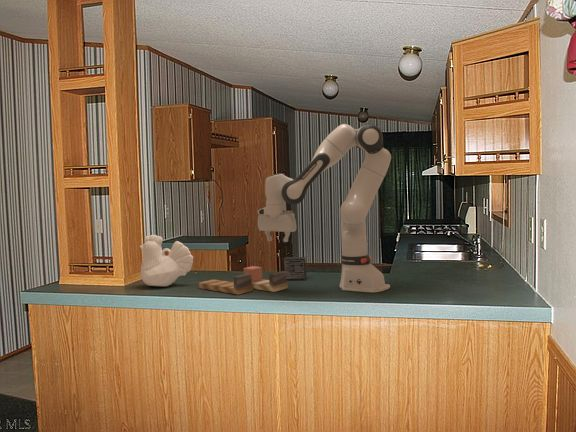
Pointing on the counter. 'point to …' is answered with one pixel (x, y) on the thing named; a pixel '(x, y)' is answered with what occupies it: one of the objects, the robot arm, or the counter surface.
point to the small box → (295, 268)
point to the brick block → (254, 273)
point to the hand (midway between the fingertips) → (277, 241)
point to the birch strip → (266, 286)
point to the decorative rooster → (163, 262)
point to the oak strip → (230, 285)
